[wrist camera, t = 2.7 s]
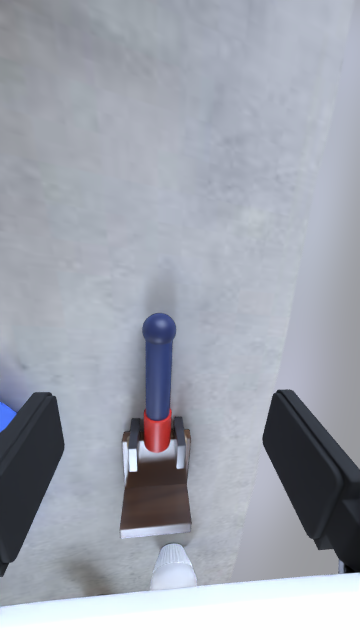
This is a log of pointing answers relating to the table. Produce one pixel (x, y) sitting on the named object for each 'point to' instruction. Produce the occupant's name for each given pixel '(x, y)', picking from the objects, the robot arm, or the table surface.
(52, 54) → the table surface
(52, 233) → the table surface
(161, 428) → the blue lever handle
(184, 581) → the muffin
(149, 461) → the brown lever base
